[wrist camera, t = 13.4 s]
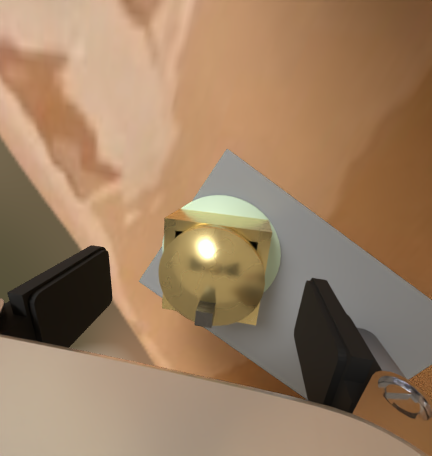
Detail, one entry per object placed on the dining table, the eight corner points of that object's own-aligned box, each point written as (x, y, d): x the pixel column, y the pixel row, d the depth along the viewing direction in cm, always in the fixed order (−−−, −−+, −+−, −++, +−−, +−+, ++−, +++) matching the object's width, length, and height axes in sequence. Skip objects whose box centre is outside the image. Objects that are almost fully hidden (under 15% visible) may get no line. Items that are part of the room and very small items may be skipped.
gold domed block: (180, 208, 16) (151, 225, 12) (268, 219, 15) (275, 242, 11) (176, 285, 18) (150, 326, 13) (255, 299, 17) (256, 347, 13)
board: (140, 271, 20) (54, 353, 11) (223, 145, 16) (188, 123, 7) (336, 409, 21) (397, 585, 12) (462, 322, 17) (687, 492, 8)
